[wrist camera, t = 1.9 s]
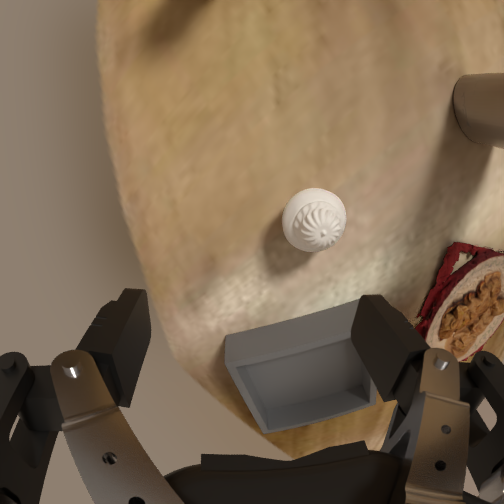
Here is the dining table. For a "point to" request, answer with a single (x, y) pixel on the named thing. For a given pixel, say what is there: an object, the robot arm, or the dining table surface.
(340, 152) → the dining table surface
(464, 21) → the dining table surface
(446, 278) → the plate with food
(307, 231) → the white ribbed rounded piece
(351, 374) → the serving bin
